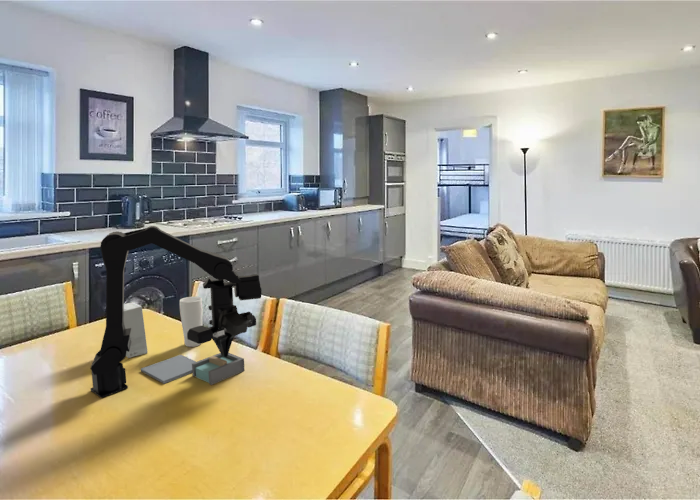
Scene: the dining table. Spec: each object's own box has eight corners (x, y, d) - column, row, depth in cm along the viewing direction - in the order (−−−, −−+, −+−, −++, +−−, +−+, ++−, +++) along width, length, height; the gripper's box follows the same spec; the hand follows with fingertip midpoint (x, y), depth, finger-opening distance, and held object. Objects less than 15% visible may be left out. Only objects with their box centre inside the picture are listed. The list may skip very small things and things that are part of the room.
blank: (210, 384, 111) (209, 368, 110) (196, 378, 114) (195, 362, 114) (237, 371, 118) (236, 356, 118) (223, 366, 122) (222, 351, 121)
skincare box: (148, 353, 130) (144, 306, 127) (126, 359, 126) (122, 310, 123) (138, 345, 136) (134, 300, 133) (118, 351, 132) (113, 304, 129)
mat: (163, 383, 111) (163, 381, 111) (141, 371, 118) (140, 368, 118) (204, 367, 120) (204, 365, 120) (180, 357, 127) (180, 354, 127)
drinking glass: (190, 350, 132) (187, 303, 130) (178, 345, 136) (174, 299, 134) (209, 343, 138) (206, 298, 135) (196, 338, 142) (194, 295, 139)
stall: (211, 385, 110) (210, 372, 109) (192, 375, 115) (191, 363, 115) (244, 370, 118) (243, 358, 118) (225, 362, 124) (224, 351, 123)
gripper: (209, 316, 103) (213, 377, 106) (268, 299, 118) (270, 353, 120) (184, 308, 110) (188, 365, 112) (242, 293, 124) (244, 343, 127)
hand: (224, 356), depth 118 cm, fingers closed
